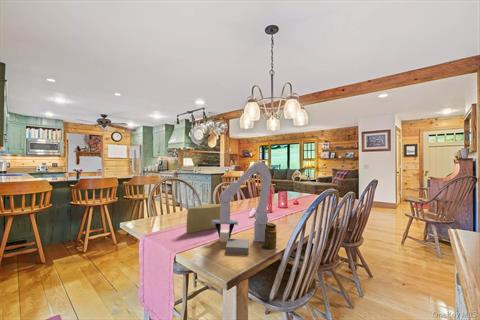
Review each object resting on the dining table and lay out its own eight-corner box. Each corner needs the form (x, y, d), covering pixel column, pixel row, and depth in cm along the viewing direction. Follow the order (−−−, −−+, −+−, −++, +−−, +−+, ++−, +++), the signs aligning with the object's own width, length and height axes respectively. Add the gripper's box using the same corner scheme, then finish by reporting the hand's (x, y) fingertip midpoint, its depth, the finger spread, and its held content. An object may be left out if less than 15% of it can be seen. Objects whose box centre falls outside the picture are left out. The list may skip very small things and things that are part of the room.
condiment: (279, 247, 115) (279, 224, 115) (270, 252, 109) (271, 228, 108) (267, 243, 120) (268, 221, 120) (258, 248, 113) (258, 224, 113)
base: (248, 244, 117) (248, 239, 117) (248, 254, 106) (248, 247, 106) (228, 244, 118) (228, 238, 118) (225, 253, 107) (225, 247, 107)
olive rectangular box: (190, 235, 130) (190, 209, 130) (183, 230, 138) (183, 206, 137) (221, 227, 144) (221, 205, 144) (213, 224, 152) (213, 202, 152)
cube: (229, 238, 126) (229, 229, 126) (228, 242, 121) (228, 232, 121) (220, 238, 126) (221, 229, 126) (219, 241, 121) (219, 232, 121)
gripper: (210, 214, 119) (210, 239, 120) (237, 215, 119) (237, 240, 119) (213, 211, 127) (212, 234, 127) (238, 211, 126) (238, 235, 126)
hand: (224, 237), depth 123 cm, fingers closed on cube, 5 cm apart
